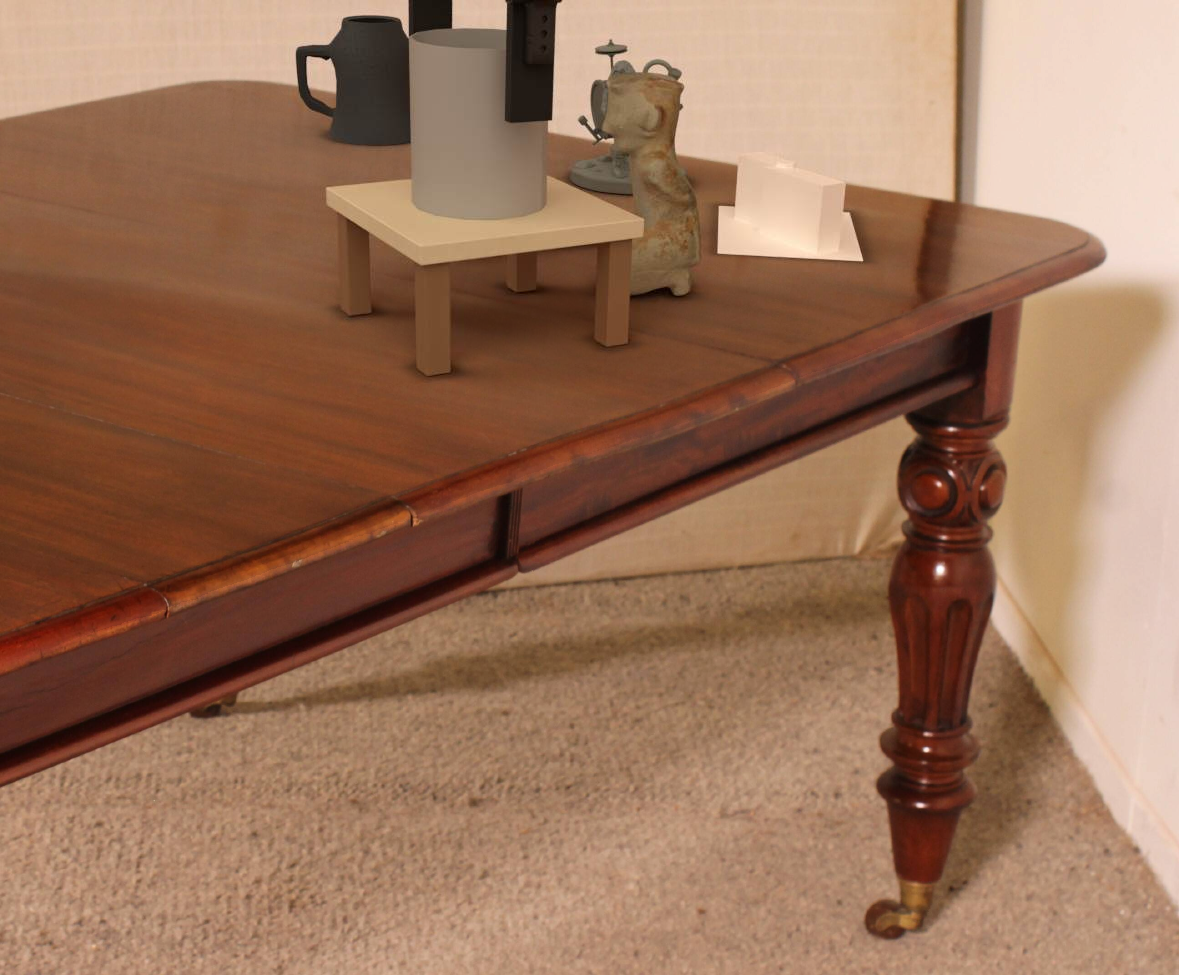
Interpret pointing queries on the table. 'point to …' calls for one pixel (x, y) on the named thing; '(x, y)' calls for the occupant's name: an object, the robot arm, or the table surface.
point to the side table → (480, 253)
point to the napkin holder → (786, 213)
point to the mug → (364, 81)
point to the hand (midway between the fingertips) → (476, 100)
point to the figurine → (607, 169)
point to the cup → (470, 130)
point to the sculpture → (655, 180)
